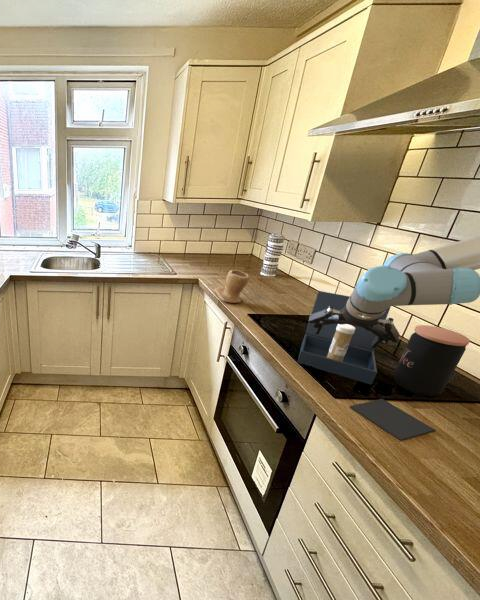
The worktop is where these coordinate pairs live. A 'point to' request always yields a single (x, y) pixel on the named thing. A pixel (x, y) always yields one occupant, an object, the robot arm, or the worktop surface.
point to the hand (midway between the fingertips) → (344, 337)
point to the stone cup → (233, 286)
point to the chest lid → (328, 331)
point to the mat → (392, 419)
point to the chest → (353, 366)
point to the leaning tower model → (272, 255)
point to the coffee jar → (429, 359)
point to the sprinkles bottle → (340, 342)
